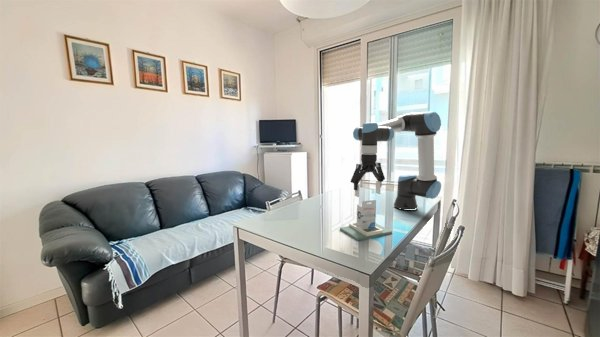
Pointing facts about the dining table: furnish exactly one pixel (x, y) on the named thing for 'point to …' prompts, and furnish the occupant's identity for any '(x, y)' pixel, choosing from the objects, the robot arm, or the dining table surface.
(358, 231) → the board
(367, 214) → the ink box
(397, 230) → the dining table surface
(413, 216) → the dining table surface
